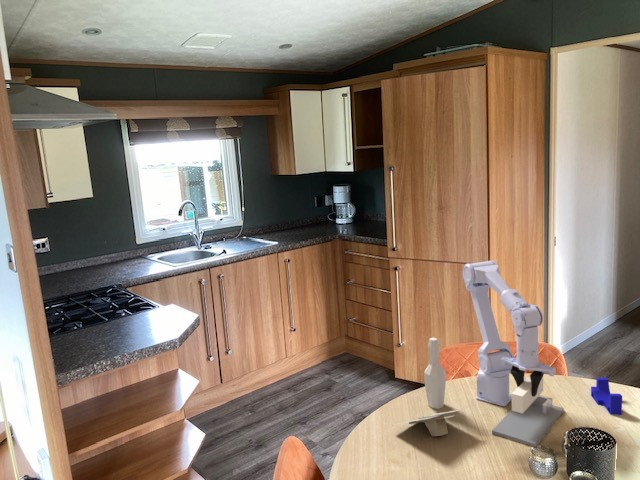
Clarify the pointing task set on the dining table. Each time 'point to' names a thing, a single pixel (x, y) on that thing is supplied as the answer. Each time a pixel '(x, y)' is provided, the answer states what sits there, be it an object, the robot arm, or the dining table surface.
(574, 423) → the dining table surface
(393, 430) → the dining table surface
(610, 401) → the blue stepped block
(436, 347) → the low poly bottle
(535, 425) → the grey base plate
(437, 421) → the tilted plate on foot
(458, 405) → the dining table surface
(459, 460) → the dining table surface
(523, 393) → the white rail
